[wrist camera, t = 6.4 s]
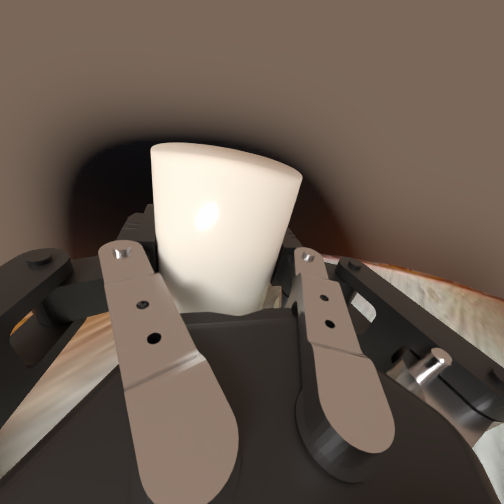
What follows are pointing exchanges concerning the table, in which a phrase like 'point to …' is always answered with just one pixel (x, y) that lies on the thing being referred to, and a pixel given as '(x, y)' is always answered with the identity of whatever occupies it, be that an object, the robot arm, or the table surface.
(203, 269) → the cream white cylinder
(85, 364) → the table surface
